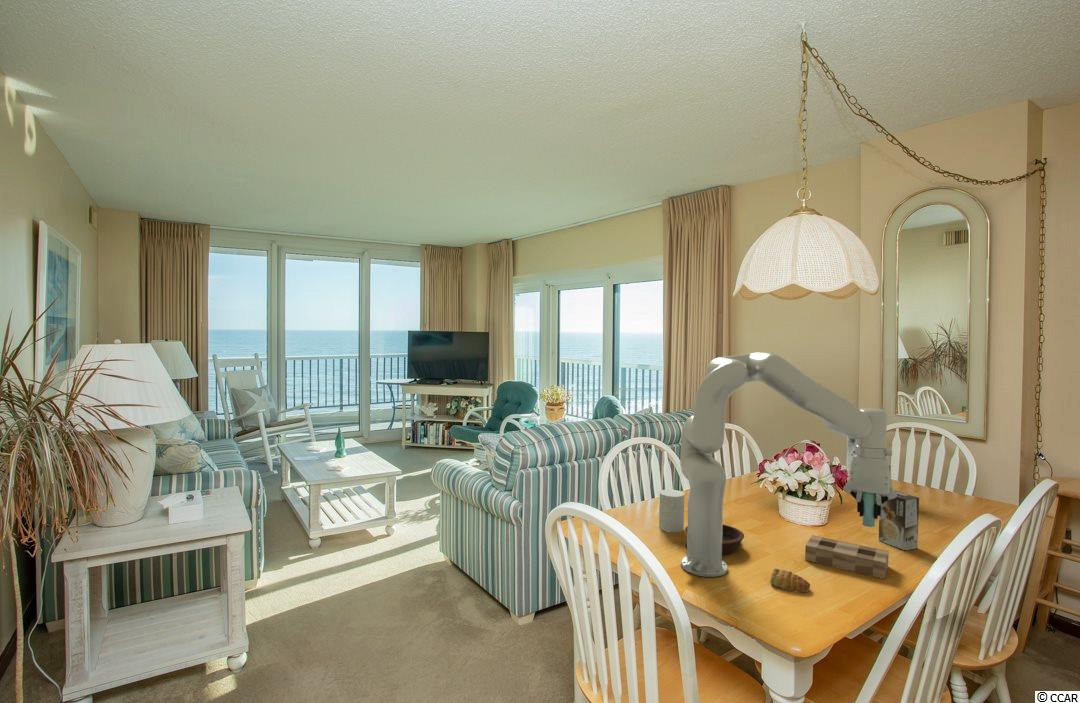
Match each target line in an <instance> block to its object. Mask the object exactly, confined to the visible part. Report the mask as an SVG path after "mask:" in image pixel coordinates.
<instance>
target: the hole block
mask: <svg viewBox="0 0 1080 703" xmlns="http://www.w3.org/2000/svg"><path fill="white" fill-rule="evenodd" d="M804 549H805V551H804V552H805V554H804V555H805V556H804V557H805V558H804V561H806V560H807V561H806V562H810V561H812V562H811V563H814V562H816V563H815V564H819V563H820V565H823V564H824V565H825V566H827V565H829V566H828V567H831V566H833V568H836V567H838V568H837V569H840V568H842V569H841V570H844V569H847V570H846V571H848V570H851V571H850V572H853V571H855V572H854V573H857V572H859V573H858V574H861V573H863V574H862V575H865V574H868V575H867V576H870V575H872V576H871V577H874V576H876V577H875V578H878V577H881V578H880V579H882V578H885V579H886V575H887V572H888V569H887V568H889V550H885V549H881V548H878V547H877V548H876V547H871V546H868V545H867V546H866V545H861V544H857V543H852V542H847V541H843V540H839V539H833V538H830V537H829V538H828V537H823V536H819V535H814V534H812V535H811V536H810V538H809V539H808V541H806V544H805V548H804ZM824 565H823V566H824Z"/></svg>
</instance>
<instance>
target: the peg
mask: <svg viewBox="0 0 1080 703" xmlns="http://www.w3.org/2000/svg"><path fill="white" fill-rule="evenodd" d="M862 498H863V516H862V525H863V526H865V527H869V528H875V526H876V519H875V518H874V505H875V503H876V494H873V493H866V492H863V496H862Z"/></svg>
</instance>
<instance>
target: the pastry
mask: <svg viewBox="0 0 1080 703" xmlns="http://www.w3.org/2000/svg"><path fill="white" fill-rule="evenodd" d="M769 582H770V584H771V585H772V586H773V587H775V588H777V587H778V588H779V589H782V590H784V589H785V590H784V591H789V590H790V592H794V591H797V592H796V593H808V592H809V591H810V589H811V583H809V582H808V580H806V579H804V578H803V577H802V576H799V575H798V574H796V573H793V572H792V571H790V570H788V571H787V570H785V569H779V568H773V570H772V573H771V576H770V581H769Z"/></svg>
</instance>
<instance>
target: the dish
mask: <svg viewBox="0 0 1080 703" xmlns="http://www.w3.org/2000/svg"><path fill="white" fill-rule="evenodd" d="M687 531H688V525H687V526H686V527H684V533H685V534H686V535H687ZM744 538H745V534H744V533H743V531H741V530H740V529H738V528H736V527H734V526H731V525H727V524H723V530H722V556H723V555H730V554H733V553H735V552H736V551H738V549H739V548H740V546H741V543H742V541H743V539H744ZM684 547H685V549H686V550H687V540H686V541H685V543H684Z"/></svg>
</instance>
